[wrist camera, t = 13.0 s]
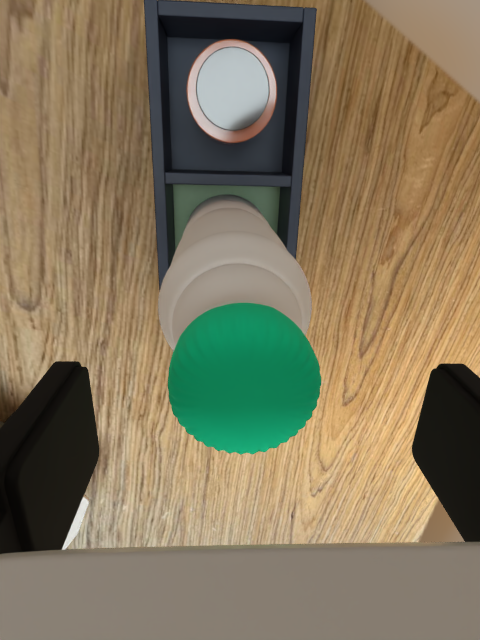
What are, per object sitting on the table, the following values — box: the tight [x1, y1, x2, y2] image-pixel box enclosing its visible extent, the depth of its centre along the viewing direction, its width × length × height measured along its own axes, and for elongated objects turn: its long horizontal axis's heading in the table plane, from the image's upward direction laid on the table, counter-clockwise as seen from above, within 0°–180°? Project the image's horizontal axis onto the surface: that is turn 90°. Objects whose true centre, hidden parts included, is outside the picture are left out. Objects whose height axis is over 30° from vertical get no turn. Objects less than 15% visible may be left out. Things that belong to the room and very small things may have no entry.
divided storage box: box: [144, 0, 317, 290], centre depth 31 cm, size 11×20×6 cm, turn 178°
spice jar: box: [186, 39, 277, 146], centre depth 26 cm, size 5×5×10 cm
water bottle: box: [158, 194, 321, 454], centre depth 23 cm, size 7×7×25 cm
